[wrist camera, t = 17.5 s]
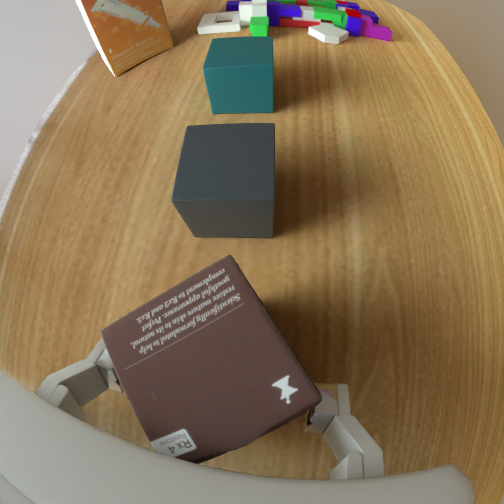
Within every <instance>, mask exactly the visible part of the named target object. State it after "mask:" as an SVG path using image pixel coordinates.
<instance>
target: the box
mask: <svg viewBox="0 0 504 504" xmlns="http://www.w3.org/2000/svg"><path fill="white" fill-rule="evenodd" d="M101 335H102V338H103V341H104V344H105V347H106V349H107V352H108V354H109V357H110V359H111V362H112V364H113V367H114V369H115V372H116V374H117V376H118V379H119V381H120V383H121V385H122V387H123V390H124V392H125V394H126V396H127V398H128V400H129V402H130V404H131V406H132V408H133V410H134V412H135V414H136V416H137V418H138V420H139V422H140V424H141V426H142V428H143V430H144V432H145V433H146V435H147V437H148V439H149V441H150V443H151V444H152V446H153V448H154V450H155V451H156V452H158V453H161V454H164V455H167V456H170V457H174V458H177V459H181V460H184V461H188V462H192V463H196V464H199V463H202V462H204V461H207V460H210V459H212V458H215V457H217V456H220V455H222V454H224V453H226V452H229V451H232V450H236V449H238V448H241V447H244V446H246V445H248V444H249V443H251V442H253V441H254V440H256V439H257V438H259V437H261V436H263V435H265V434H267V433H269V432H271V431H273V430H275V429H277V428H279V427H281V426H282V425H284V424H286V423H288V422H290V421H292V420H293V419H295V418H297V417H299V416H301V415H303V414H304V413H306V412H307V411H309V410H311V409H312V408H314V407H316V406H317V405H318V404H319V403H320V402H321V401H322V395H321V393H320V392H319V390H318V388H317V387H316V385H315V384H314V382H313V381H312V379H311V378H310V376H309V375H308V373H307V372H306V370H305V369H304V367H303V366H302V364H301V363H300V361H299V359H298V358H297V356H296V355H295V353H294V352H293V350H292V349H291V347H290V346H289V344H288V343H287V341H286V339H285V338H284V336H283V334H282V333H281V331H280V329H279V328H278V326H277V325H276V323H275V322H274V320H273V319H272V317H271V316H270V314H269V313H268V311H267V309H266V308H265V306H264V305H263V303H262V301H261V300H260V299H259V297H258V296H257V294H256V292H255V291H254V289H253V288H252V286H251V285H250V283H249V282H248V280H247V279H246V277H245V276H244V274H243V272H242V271H241V269H240V267H239V265H238V264H237V263H236V261H235V260H234V258H233V257H232V256H231V255H228V256H226V257H225V258H223V259H221V260H219V261H217V262H215V263H214V264H212V265H210V266H208V267H207V268H205V269H203V270H201V271H200V272H198V273H196V274H194V275H193V276H191V277H189V278H187V279H186V280H184V281H182V282H181V283H179V284H178V285H176V286H174V287H172V288H171V289H169V290H167V291H166V292H164V293H162V294H161V295H159V296H157V297H155V298H154V299H152V300H150V301H149V302H147V303H146V304H144V305H142V306H141V307H139V308H137V309H135V310H134V311H132V312H130V313H129V314H127V315H125V316H124V317H122V318H120V319H119V320H117V321H115V322H114V323H112V324H110V325H109V326H107V327H106V328H104V329H102V330H101Z"/></svg>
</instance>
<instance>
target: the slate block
mask: <svg viewBox="0 0 504 504" xmlns="http://www.w3.org/2000/svg"><path fill="white" fill-rule="evenodd" d="M171 201H172V203H173V204H174V206H175V208H176V209H177V211H178V212H179V214H180V215H181V217H182V218H183V220H184V221H185V223H186V224H187V226H188V228H189V229H190V231H191V232H192V234H193V235H194V237H232V238H273V227H274V209H275V125H274V124H273V123H239V124H212V125H196V126H187V128H186V132H185V136H184V141H183V145H182V150H181V154H180V159H179V163H178V168H177V173H176V178H175V183H174V188H173V194H172V199H171Z"/></svg>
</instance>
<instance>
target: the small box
mask: <svg viewBox="0 0 504 504" xmlns="http://www.w3.org/2000/svg"><path fill="white" fill-rule="evenodd" d="M76 3H77V5H78V7H79V9H80V11H81V14H82V16H83V18H84V21H85V22H86V25H87V27H88V29H89V32H90V34H91V36H92V38H93V40H94V42H95V44H96V46H97V48H98V50H99V52H100V54H101V56H102V58H103V60H104V62H105V64H106V65H107V66H108V68H109V69H110V70H111V72H112V73H113V75H114V76H115V77H116V76H118V75H120V74H121V73H123V72H124V71H126V70H128V69H129V68H131V67H133V66H135V65H137V64H139V63H141V62H142V61H144V60H146V59H148V58H150V57H152V56H154V55H156V54H159V53H161V52H163V51H165V50H168V49H170V48H173V42H172V38H171V34H170V31H169V27H168V23H167V19H166V15H165V12H164V8H163V4H162V1H161V0H76Z"/></svg>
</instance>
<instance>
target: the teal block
mask: <svg viewBox="0 0 504 504" xmlns="http://www.w3.org/2000/svg"><path fill="white" fill-rule="evenodd" d="M203 72H204V77H205V81H206V86H207V90H208V94H209V99H210V103H211V108H212V112H213V114H225V113H273V93H274V61H273V37H268V36H259V37H230V38H217V39H212V42H211V45H210V48H209V51H208V54H207V57H206V60H205V63H204V66H203Z"/></svg>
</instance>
